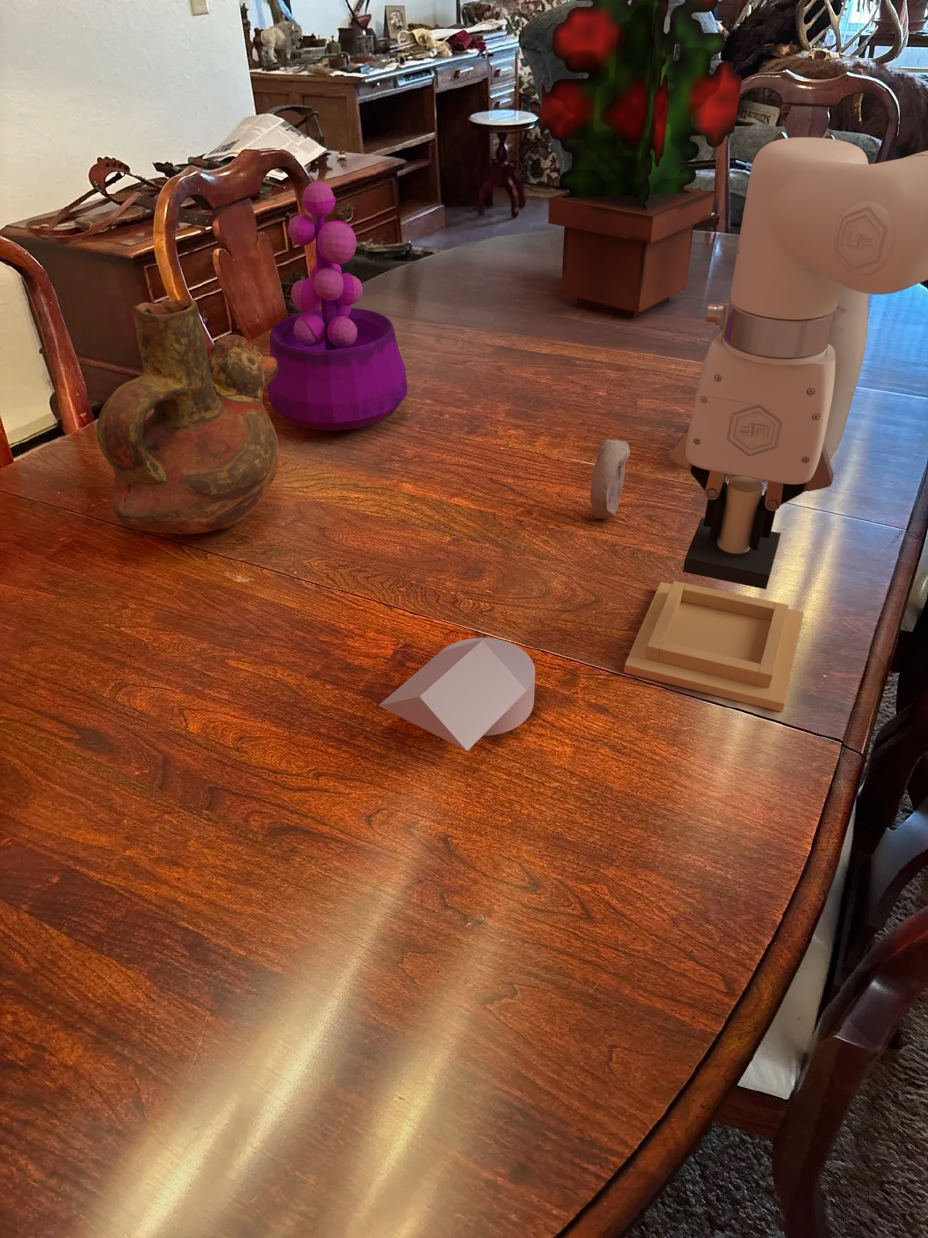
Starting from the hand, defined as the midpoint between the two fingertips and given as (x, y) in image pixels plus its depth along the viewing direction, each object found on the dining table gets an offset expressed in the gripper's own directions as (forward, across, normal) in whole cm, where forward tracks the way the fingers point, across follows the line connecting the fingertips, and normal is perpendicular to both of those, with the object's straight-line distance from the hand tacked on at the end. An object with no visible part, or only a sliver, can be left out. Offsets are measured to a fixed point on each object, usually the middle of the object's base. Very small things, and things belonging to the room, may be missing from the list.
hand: (735, 536), depth 79 cm
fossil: (+12, -16, +18) cm, 27 cm away
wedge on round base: (+12, -18, -17) cm, 28 cm away
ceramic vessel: (+13, -58, +3) cm, 59 cm away
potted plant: (+13, -33, +90) cm, 97 cm away
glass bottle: (+12, +2, +38) cm, 40 cm away
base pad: (+12, 0, 0) cm, 12 cm away
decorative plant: (+13, -57, +31) cm, 66 cm away
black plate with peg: (+2, 0, 0) cm, 2 cm away
